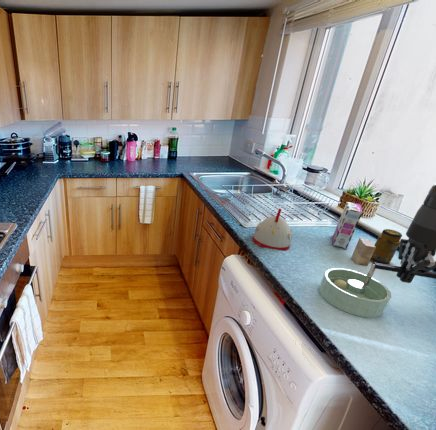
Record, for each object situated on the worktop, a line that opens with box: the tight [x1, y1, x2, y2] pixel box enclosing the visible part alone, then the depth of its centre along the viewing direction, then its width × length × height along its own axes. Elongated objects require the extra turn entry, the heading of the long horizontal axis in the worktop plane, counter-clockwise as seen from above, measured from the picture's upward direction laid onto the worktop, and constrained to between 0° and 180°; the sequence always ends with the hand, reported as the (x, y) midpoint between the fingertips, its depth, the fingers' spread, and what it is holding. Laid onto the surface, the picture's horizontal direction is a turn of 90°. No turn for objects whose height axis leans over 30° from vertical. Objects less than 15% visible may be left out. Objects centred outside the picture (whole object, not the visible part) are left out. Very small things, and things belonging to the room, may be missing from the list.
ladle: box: [346, 262, 436, 294], centre depth 81 cm, size 19×4×10 cm, turn 69°
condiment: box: [370, 228, 403, 266], centre depth 105 cm, size 7×8×12 cm
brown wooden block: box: [351, 237, 376, 267], centre depth 105 cm, size 3×6×8 cm, turn 159°
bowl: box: [318, 267, 392, 319], centre depth 86 cm, size 16×16×6 cm
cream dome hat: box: [252, 208, 293, 252], centre depth 116 cm, size 14×14×15 cm
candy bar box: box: [332, 201, 363, 250], centre depth 117 cm, size 11×5×16 cm, turn 145°
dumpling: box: [333, 280, 347, 291], centre depth 90 cm, size 4×4×4 cm
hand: (402, 279), depth 80 cm, fingers closed on ladle, 1 cm apart
